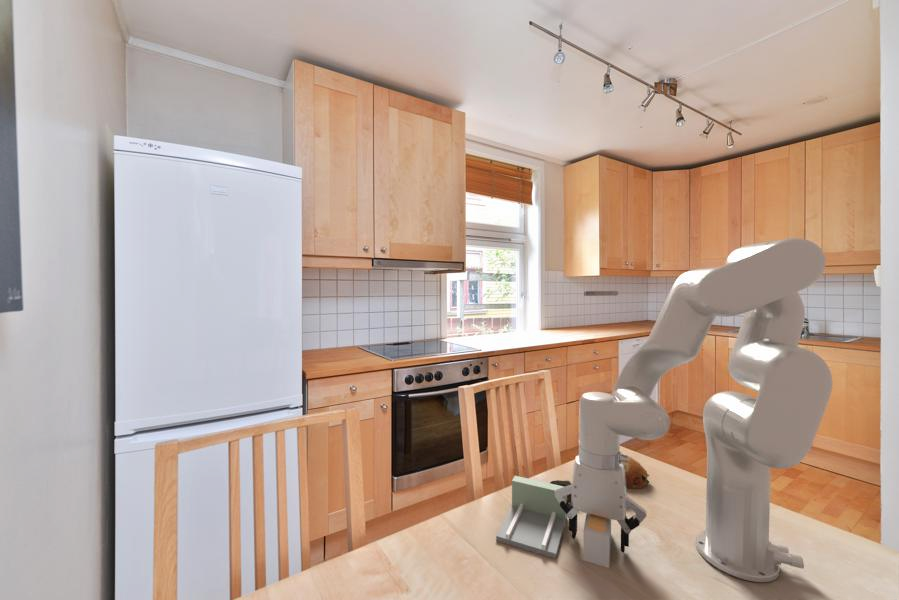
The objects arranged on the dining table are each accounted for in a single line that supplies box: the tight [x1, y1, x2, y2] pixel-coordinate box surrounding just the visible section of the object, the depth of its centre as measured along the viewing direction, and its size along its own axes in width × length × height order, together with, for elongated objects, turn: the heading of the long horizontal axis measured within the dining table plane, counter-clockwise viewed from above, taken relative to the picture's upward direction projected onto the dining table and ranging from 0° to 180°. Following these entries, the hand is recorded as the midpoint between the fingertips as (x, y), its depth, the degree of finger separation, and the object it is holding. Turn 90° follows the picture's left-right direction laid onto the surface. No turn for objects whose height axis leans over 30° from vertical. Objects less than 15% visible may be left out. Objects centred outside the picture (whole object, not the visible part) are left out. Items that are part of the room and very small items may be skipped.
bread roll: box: [621, 455, 650, 490], centre depth 100 cm, size 10×10×8 cm
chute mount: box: [495, 475, 568, 559], centre depth 80 cm, size 12×14×7 cm
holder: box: [582, 513, 612, 569], centre depth 74 cm, size 4×10×7 cm, turn 154°
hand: (597, 541), depth 74 cm, fingers open, 8 cm apart
